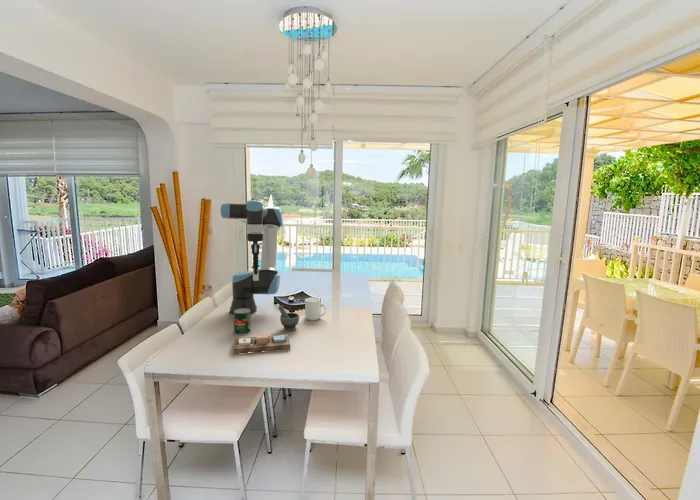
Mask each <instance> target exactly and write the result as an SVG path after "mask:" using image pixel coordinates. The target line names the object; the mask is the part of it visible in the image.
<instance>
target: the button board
mask: <svg viewBox="0 0 700 500" xmlns="http://www.w3.org/2000/svg"><path fill="white" fill-rule="evenodd" d="M280 335H281V334H273V335H268V343H267V344H256V336H246V337H244V338H251V344H252V345H243V346H238V345H239V339H242V338H243V337H236V338H234V343H233V351H232V352H233V355H234V354H235V355H240V354H239V353H247V354H249V353H248V352H258V353H263V352H262V351H269V352H278V351H279V350H280V351H288V350H290V351H291V342H290V337H289V335H288V333H286V334H285V333H284V334H282V335H284V337H285V342H279V343H273V336H280ZM277 350H278V351H277ZM280 351H279V352H280Z"/></svg>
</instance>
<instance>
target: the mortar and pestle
mask: <svg viewBox="0 0 700 500" xmlns="http://www.w3.org/2000/svg"><path fill="white" fill-rule="evenodd" d="M277 309H278V311H279V312H280V314H281V315H280V316H279V317H280V324H281V325H282V326H283V330H284V331H288V332H291V331H292V332H293V331H294V330H296V329H297V325H298V324H299V322H300V314H298V313H296V312H287V311H286V309H285V308H284V305H283V304H282V305H279V306H278V307H277Z"/></svg>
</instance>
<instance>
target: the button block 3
mask: <svg viewBox="0 0 700 500" xmlns="http://www.w3.org/2000/svg"><path fill="white" fill-rule="evenodd" d="M279 335H280V336H273V343H279V342H285V337H284V335H283V334H279Z"/></svg>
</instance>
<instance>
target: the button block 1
mask: <svg viewBox="0 0 700 500" xmlns="http://www.w3.org/2000/svg"><path fill="white" fill-rule="evenodd" d="M241 338H242V339H239V346H243V345H251V338H245V337H241Z"/></svg>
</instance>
